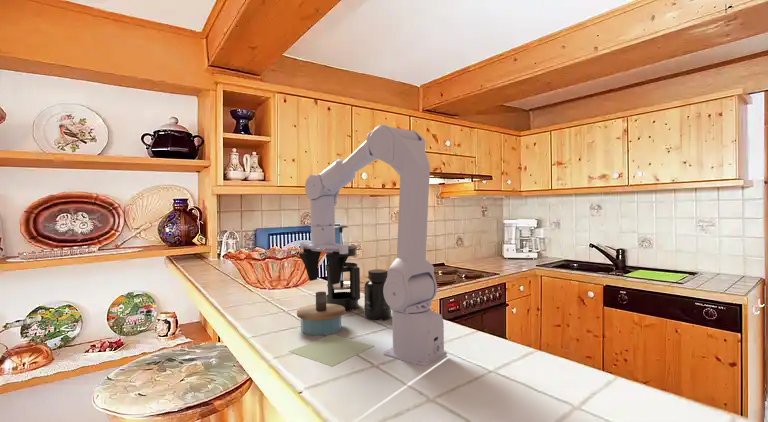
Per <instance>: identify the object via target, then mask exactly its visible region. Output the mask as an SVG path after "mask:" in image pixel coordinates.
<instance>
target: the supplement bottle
mask: <svg viewBox="0 0 768 422" xmlns="http://www.w3.org/2000/svg"><path fill="white" fill-rule="evenodd" d="M387 276H388V270H386V269H377V268H376V269H369V270H368V274H367V279H368V280H367V281H366V282H365V283H364V317H365V319H366V320H369V321H370V320H371V321H387V320H389V319H391V317H392V310H390V307H389V306H388V304H387V303H386V301H385V298H384V294H383V288H384V284H385V282H386V280H387Z"/></svg>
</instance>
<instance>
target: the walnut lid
mask: <svg viewBox="0 0 768 422" xmlns="http://www.w3.org/2000/svg"><path fill="white" fill-rule="evenodd" d="M326 295H327V291H316V292H315V304H309V305H305V306H302V307H300V308H299V309H297V310H296V317H297V318H299V319H300V320H301V319H304V320H313V321H320V320H329V319H334V318H338V317H340V316H341V317H343V316H344V315H345V314H346V311H345V308H344V307H343V306H341V305H337V304H326Z"/></svg>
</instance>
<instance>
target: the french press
mask: <svg viewBox="0 0 768 422" xmlns="http://www.w3.org/2000/svg"><path fill="white" fill-rule="evenodd" d="M344 228H349V226H348V225H335V229H338V233H339V235H340V238H339V240H340V243H339V244H343V241H342V239H343V238H342V237H343V236H342V234H343V229H344ZM357 249H358V247H357V246H355V245H348V253H347V254H348V258H349V257H354V256H356V254H357V253H356V250H357ZM325 250H327V249H325ZM328 254H332V253H330V252H326V255H328ZM324 268H325V271H326V272H327V284H326V286H327V294H326V304H337V305H341V306H343V307H344V308H345V312H351V311H355V310H357V309H358V308H359V306H360V303H359V300H360V299H361V285H360V284H361V275H360V274H361V268H360V267H358V263H355V262H351V261H350V262H348V261H346V262H345V264H344V267H343V269H342V273H341V277H340V281H339V283H338V284H334V285H333V284H331V281H330V269H329V264H328V263H327V264H325V267H324ZM348 272H349V281H344V280H343V273H348ZM335 290H338V291H337V292H335ZM340 290H341V291H340ZM343 290H349V291H343Z"/></svg>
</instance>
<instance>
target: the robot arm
mask: <svg viewBox="0 0 768 422" xmlns="http://www.w3.org/2000/svg"><path fill="white" fill-rule="evenodd" d="M365 139H366V140H365V141H364V142H362V144H361V145H360V146H359V147H358V148H357V149H355V151H353V152H352V153H351V154H350V155H349V156H348V157H347V158H346V159H343V158H335V159H334V160H333V161H332V164H330V165H329V166H328V167H327V168H326V169H322V171H321V173H319V174H310V175H309V176H308V177H307V178H306V180H305V184H304V192H305V195H306V197H307V198H308V199H309V200H310V204H309V205H310V210H309V211H310V241H303V242H299V247H300V251H302V252H299V253H298V256H299V258H300V259H301V260H302V263H303V265H304V267H305V270H306V273H307V277H308V281H310V282H312V281H316V280H318V275H319V262H320V257H321V253H327V252H330V253H332V254H328V255H327V254H325V258H326V261H327V264H329V269H330V281H331V284H333V285H334V284H338V283H339V282H340V280H341V273H342V274H343V272H342V269H343V267H344V264H345V262H347V259H348V258H349V257H348V254H347V253H348V246H349V245H348V244H343V243H342V244H340V243H338V242H337V243H336V228H335V226H336V224H335V223H336V221H335V220H336V219H335V218H336V217H335V216H336V215H335V212H336V210H335V207H336V205H337V202H338V201H337V199H338V196H339V194H340V190H342V189H344V187H346V186H347V185H349V184H350V183H351V182H353V181H354V179H355V178H356V173H357V172H358V171H360V170H361V169H363V168H365V167H366V166H368V165H370V164H371V163H373V162H374V161H376V160H377V159H378V160H380V161H381V162H383V163H385V164H388V165H389V166H390V167H391V168H393V170H394V171H395V172H396V173H397V174H398V176H399V193H398V195H399V199H398V219H397V220H398V222H397V240H396V241H397V243H396V245H397V246H396V247H397V249H396V258H395V259H394V260H393V262H392V263H391V264H390V266H388V269H387V279H386V282H385V284H384V288H383V294H384V298H385V301H386V303H387V304H388V306H389V307H390V310H391V317H392V326H391V327H392V347H391V348H389V349H386V351H383V355H384V356H385V357H389V358H393V359H397V360H401V361H404V362H408V363H410V364H414V365H418V366H421V367H427V366H428V365H431V363H433V362H434V361H436V360H437V359H439V358H441V357H442V356H444V355H445V354H446V353H447V352H446V350H445V346H444V345H445V341H444V338H445V335H444V331H445V330H444V326H445V324H444V319H443V315H442V314H441V313H439V312H436V311H433V309H431V308H430V307H432V301H433V300H434V299H435V297H436V295H437V291H438V284H437V280H436V277H435V266H434V265H433V264H432V263H430V262H429V261H428V260H427V240H428V239H427V238H428V237H427V235H428V218H429V217H428V215H429V214H428V213H429V198H430V197H429V195H430V194H429V193H430V192H429V190H430V175H431V174H430V173H431V168H430V161H429V159H428V156H427V153H426V139H425V138H423V137H422V136H421V135H420V134H419V132H417V131H415V130H411V129H409V130H408V129H403V128H399V127H394V126H393V127H392V126H389V125H385V124H379V125H377V126H376V127H374V129H372V130H371V131H369V132H368V133H367V135H366V138H365ZM326 249H327V250H326Z"/></svg>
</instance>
